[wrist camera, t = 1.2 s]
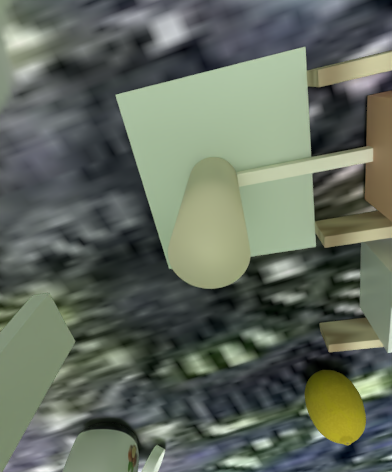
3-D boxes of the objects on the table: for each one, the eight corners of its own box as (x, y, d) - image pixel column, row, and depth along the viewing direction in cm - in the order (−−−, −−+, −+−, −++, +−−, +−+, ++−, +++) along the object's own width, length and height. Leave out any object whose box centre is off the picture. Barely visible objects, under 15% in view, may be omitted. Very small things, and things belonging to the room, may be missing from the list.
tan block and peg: (199, 227, 27) (187, 321, 17) (178, 137, 24) (145, 185, 13) (472, 180, 24) (675, 262, 13) (494, 67, 20) (791, 55, 10)
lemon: (356, 363, 34) (392, 436, 27) (329, 391, 37) (355, 466, 30) (313, 348, 34) (338, 419, 27) (289, 378, 36) (305, 450, 29)
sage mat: (169, 267, 30) (169, 268, 30) (116, 94, 23) (115, 94, 23) (315, 245, 28) (315, 246, 28) (304, 46, 21) (305, 46, 21)
